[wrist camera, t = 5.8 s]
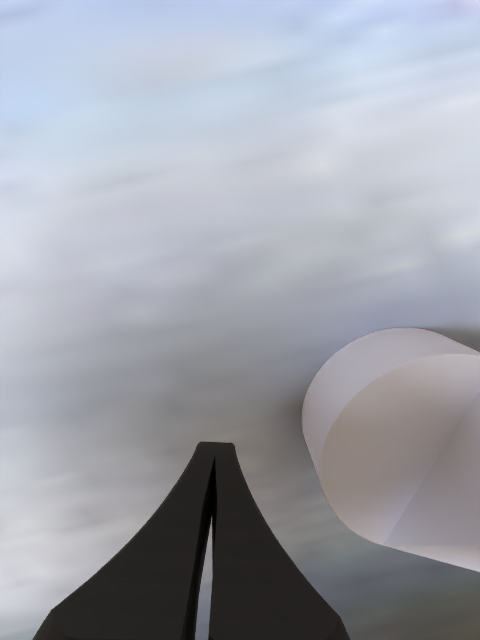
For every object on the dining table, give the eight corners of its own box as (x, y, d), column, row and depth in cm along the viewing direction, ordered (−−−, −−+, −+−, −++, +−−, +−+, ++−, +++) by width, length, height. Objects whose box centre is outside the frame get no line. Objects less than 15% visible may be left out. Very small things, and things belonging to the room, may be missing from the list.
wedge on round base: (586, 387, 15) (348, 300, 13) (863, 503, 8) (455, 357, 7) (488, 523, 17) (274, 460, 16) (646, 700, 10) (303, 618, 9)
